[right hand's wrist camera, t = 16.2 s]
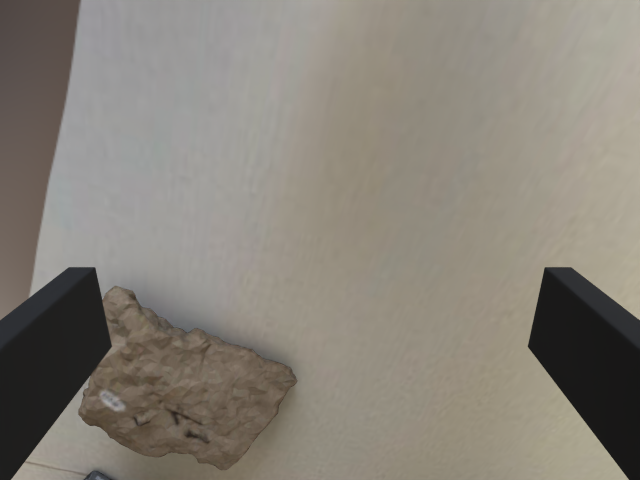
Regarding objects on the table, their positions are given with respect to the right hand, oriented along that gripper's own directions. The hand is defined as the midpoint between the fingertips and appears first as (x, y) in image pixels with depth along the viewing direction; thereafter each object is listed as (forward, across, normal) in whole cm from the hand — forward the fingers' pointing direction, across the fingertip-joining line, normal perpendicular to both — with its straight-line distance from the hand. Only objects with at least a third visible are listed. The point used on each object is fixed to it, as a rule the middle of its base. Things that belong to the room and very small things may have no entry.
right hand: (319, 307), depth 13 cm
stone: (+27, +14, +23) cm, 38 cm away
